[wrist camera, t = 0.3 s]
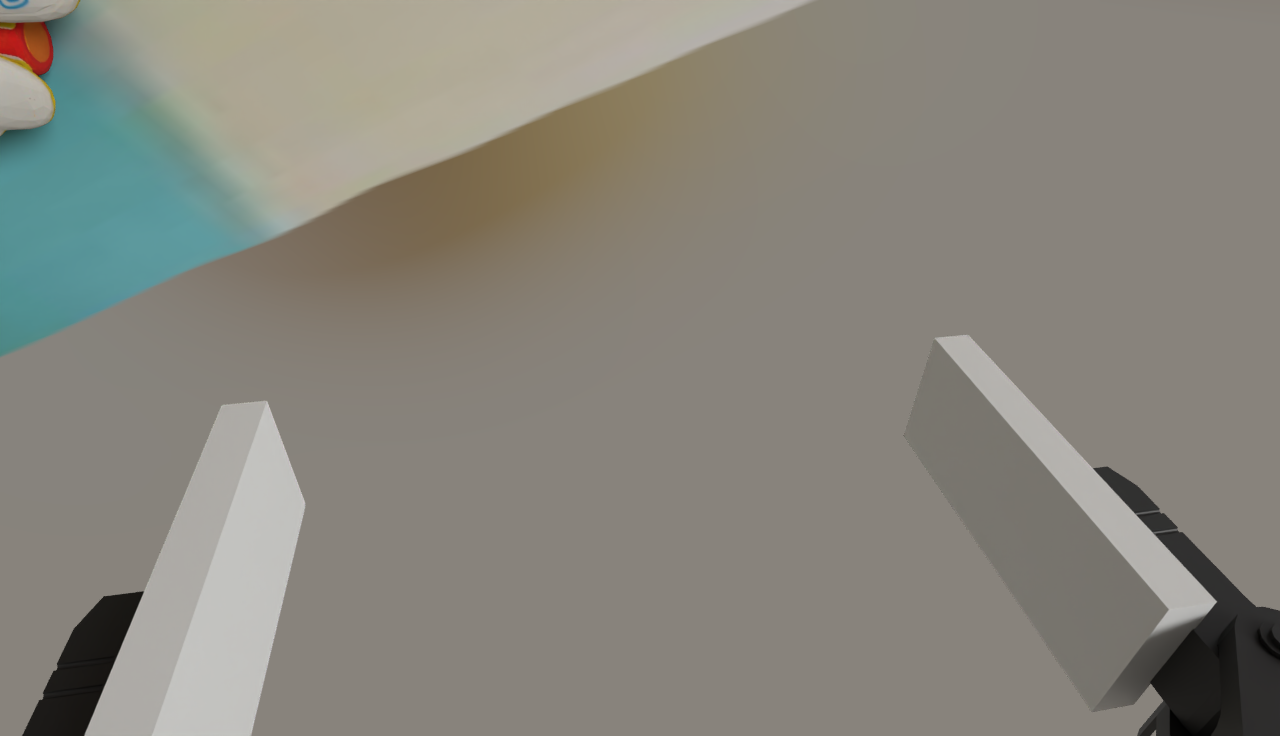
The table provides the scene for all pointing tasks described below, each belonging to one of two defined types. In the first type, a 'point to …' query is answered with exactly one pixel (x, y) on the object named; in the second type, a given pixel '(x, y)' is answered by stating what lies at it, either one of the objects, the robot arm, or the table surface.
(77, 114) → the table surface
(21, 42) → the toy airplane
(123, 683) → the robot arm
